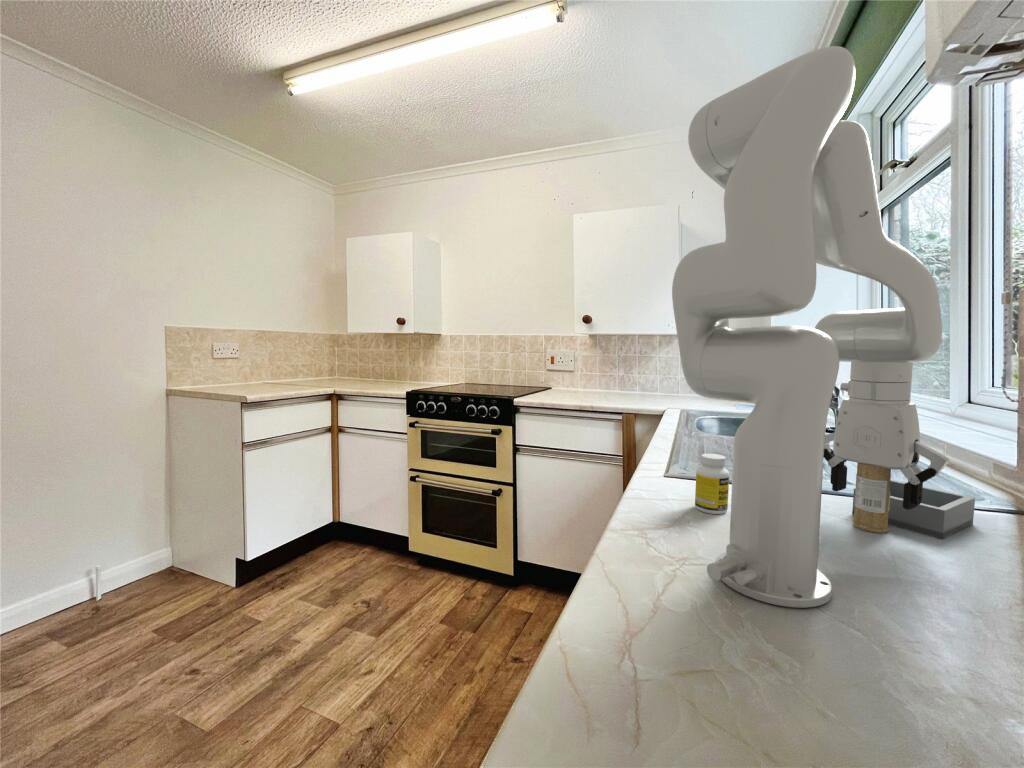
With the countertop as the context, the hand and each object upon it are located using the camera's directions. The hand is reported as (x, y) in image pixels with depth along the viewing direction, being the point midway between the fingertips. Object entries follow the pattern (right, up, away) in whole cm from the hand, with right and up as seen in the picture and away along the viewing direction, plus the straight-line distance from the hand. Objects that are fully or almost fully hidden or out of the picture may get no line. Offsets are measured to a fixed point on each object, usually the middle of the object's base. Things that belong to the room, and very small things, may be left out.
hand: (872, 498), depth 73 cm
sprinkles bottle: (0, -5, 0) cm, 5 cm away
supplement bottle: (-22, -4, +9) cm, 24 cm away
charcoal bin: (+10, -5, +4) cm, 11 cm away
